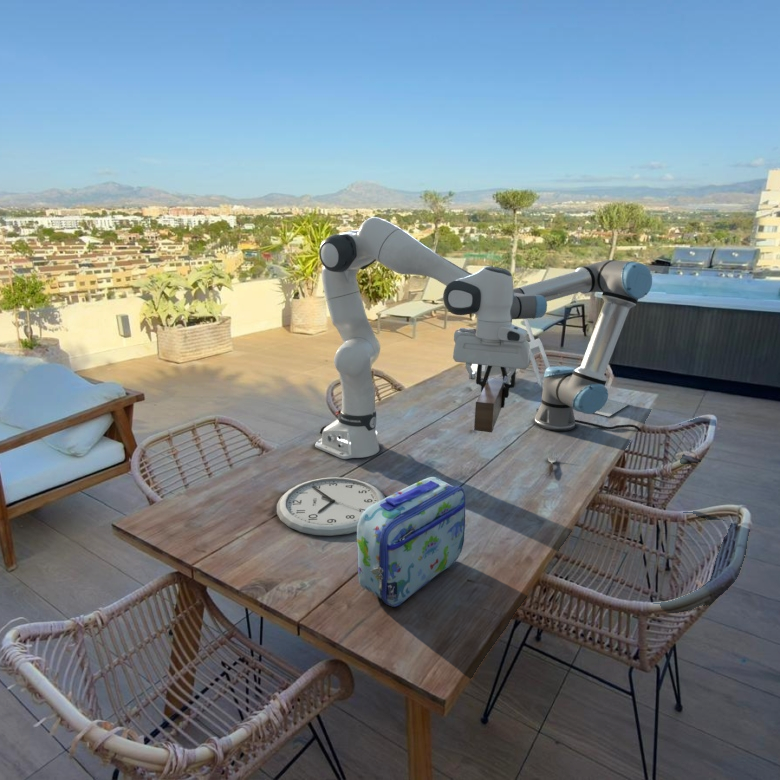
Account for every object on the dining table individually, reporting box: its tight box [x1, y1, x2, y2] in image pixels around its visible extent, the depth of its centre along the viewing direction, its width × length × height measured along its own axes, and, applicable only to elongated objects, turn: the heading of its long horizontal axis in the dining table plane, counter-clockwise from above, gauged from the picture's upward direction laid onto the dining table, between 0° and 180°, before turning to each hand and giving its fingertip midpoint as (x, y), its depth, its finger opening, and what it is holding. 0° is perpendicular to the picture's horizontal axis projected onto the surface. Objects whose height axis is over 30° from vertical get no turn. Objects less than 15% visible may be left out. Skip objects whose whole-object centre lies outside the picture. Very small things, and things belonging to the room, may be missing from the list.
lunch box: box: [356, 476, 466, 608], centre depth 110 cm, size 26×11×21 cm, turn 134°
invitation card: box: [594, 399, 629, 418], centre depth 226 cm, size 21×1×15 cm
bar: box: [473, 376, 505, 433], centre depth 167 cm, size 28×5×9 cm, turn 161°
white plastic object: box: [471, 319, 551, 390], centre depth 258 cm, size 37×45×31 cm
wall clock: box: [276, 476, 386, 537], centre depth 142 cm, size 30×2×30 cm
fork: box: [547, 451, 558, 477], centre depth 168 cm, size 3×16×2 cm, turn 160°
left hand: (489, 381), depth 141 cm, fingers open, 8 cm apart
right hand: (493, 405), depth 177 cm, fingers closed on bar, 5 cm apart
